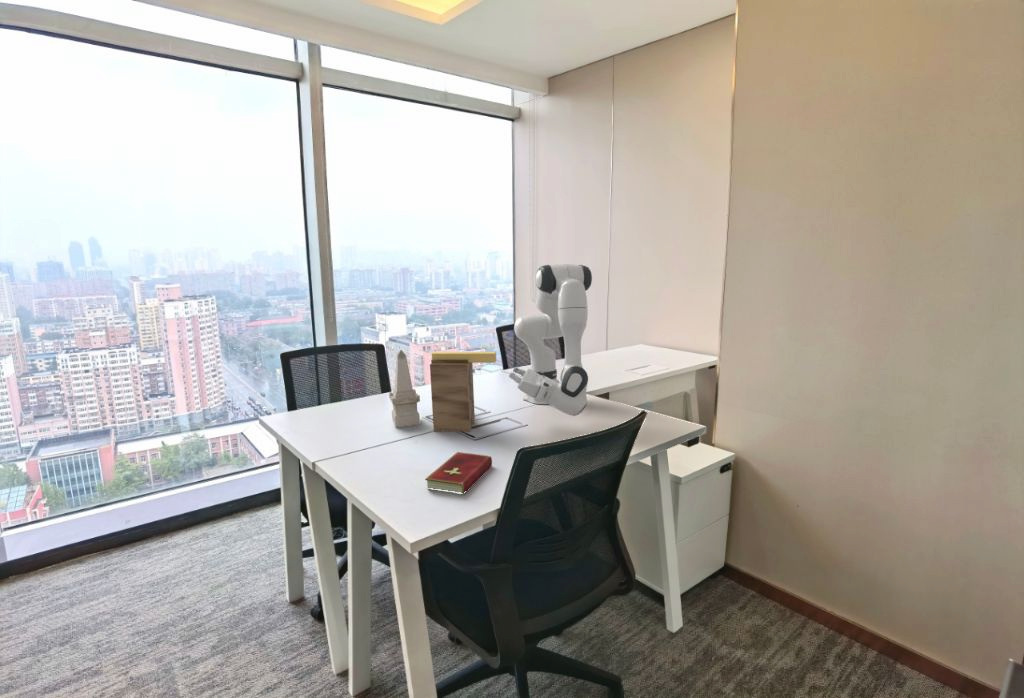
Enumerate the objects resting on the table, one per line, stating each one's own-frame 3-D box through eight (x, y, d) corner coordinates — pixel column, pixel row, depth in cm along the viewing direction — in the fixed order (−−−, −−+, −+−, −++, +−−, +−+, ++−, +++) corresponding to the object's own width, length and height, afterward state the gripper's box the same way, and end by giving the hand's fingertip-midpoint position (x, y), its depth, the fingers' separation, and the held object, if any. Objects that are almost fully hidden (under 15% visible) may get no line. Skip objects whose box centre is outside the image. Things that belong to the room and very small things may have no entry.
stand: (440, 422, 209) (436, 355, 204) (474, 423, 207) (472, 355, 202) (433, 430, 199) (429, 361, 194) (469, 431, 197) (466, 361, 192)
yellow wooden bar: (434, 360, 201) (434, 351, 200) (496, 360, 198) (496, 351, 197) (432, 362, 197) (431, 353, 197) (494, 362, 194) (494, 353, 194)
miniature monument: (421, 424, 207) (416, 350, 201) (394, 428, 203) (389, 353, 198) (416, 417, 216) (412, 346, 211) (391, 420, 213) (385, 348, 207)
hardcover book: (492, 467, 165) (491, 455, 165) (463, 497, 146) (463, 483, 145) (458, 463, 169) (457, 451, 169) (425, 491, 150) (425, 477, 149)
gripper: (550, 375, 205) (519, 359, 205) (545, 388, 185) (511, 370, 185) (543, 389, 206) (512, 372, 207) (537, 403, 186) (503, 385, 187)
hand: (511, 371), depth 196 cm, fingers open, 8 cm apart
